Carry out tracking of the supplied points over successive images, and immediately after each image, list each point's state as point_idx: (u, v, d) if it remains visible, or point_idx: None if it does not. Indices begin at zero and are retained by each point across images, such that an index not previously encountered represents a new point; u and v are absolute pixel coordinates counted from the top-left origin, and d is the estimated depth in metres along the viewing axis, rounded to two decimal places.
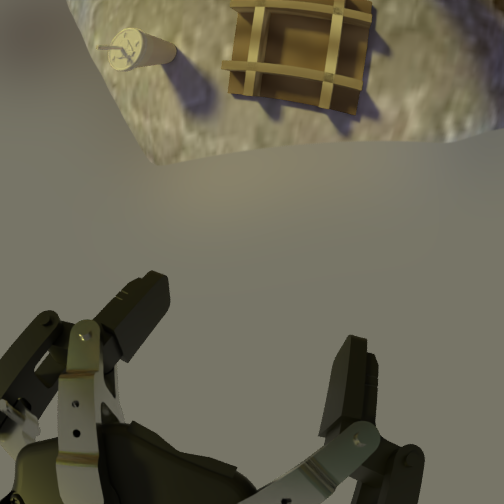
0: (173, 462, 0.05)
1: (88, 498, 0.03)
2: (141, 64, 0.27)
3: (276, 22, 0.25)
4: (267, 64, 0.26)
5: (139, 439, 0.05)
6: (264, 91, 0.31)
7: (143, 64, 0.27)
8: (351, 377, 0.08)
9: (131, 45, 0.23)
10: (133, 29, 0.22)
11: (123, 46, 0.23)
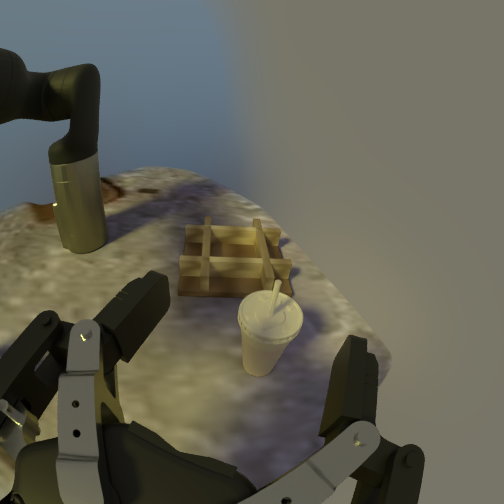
0: (173, 462, 0.05)
1: (88, 498, 0.03)
2: None
3: None
4: (262, 253, 0.43)
5: (139, 439, 0.05)
6: None
7: None
8: (351, 377, 0.08)
9: (267, 302, 0.27)
10: (242, 302, 0.26)
11: (267, 310, 0.26)
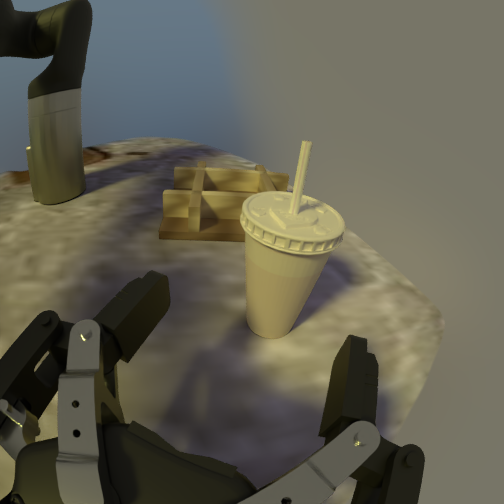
0: (173, 462, 0.05)
1: (88, 498, 0.03)
2: None
3: None
4: (268, 190, 0.34)
5: (139, 439, 0.05)
6: None
7: None
8: (351, 377, 0.08)
9: (286, 201, 0.17)
10: (247, 199, 0.17)
11: (289, 207, 0.16)
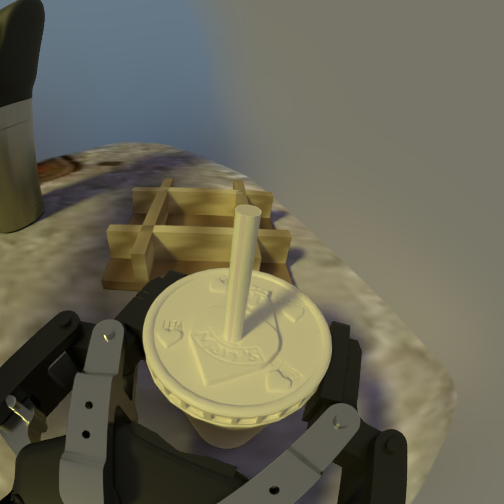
0: (173, 462, 0.05)
1: (88, 498, 0.03)
2: None
3: None
4: None
5: (139, 439, 0.05)
6: None
7: None
8: (332, 361, 0.08)
9: None
10: (160, 297, 0.09)
11: None
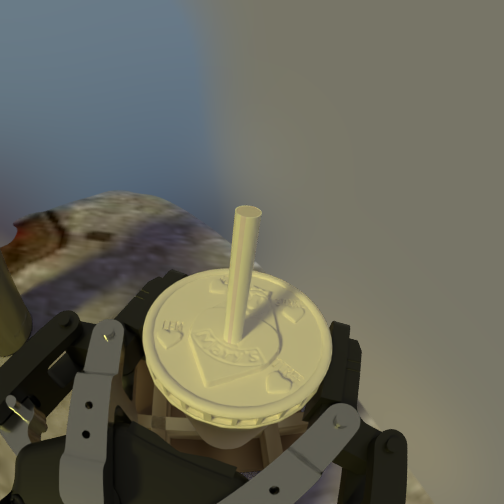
0: (173, 462, 0.05)
1: (88, 498, 0.03)
2: None
3: None
4: None
5: (139, 439, 0.05)
6: None
7: None
8: (332, 361, 0.08)
9: None
10: (160, 298, 0.09)
11: None
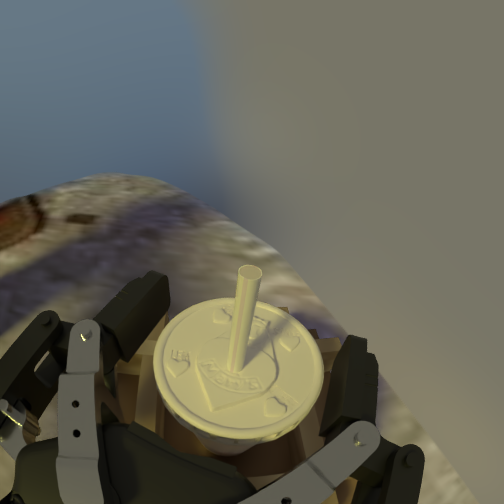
0: (173, 462, 0.05)
1: (88, 498, 0.03)
2: None
3: None
4: (307, 448, 0.12)
5: (139, 439, 0.05)
6: None
7: None
8: (351, 377, 0.08)
9: (230, 329, 0.10)
10: (167, 328, 0.10)
11: None
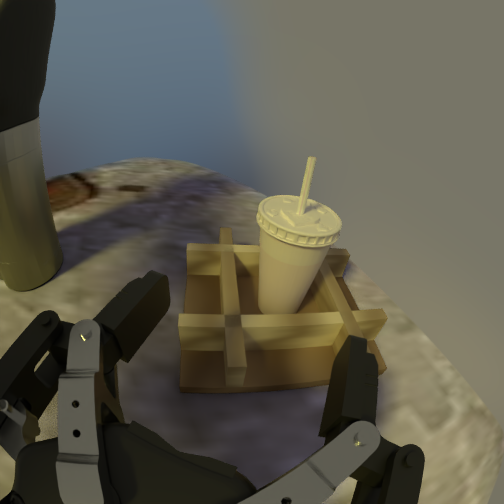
0: (173, 462, 0.05)
1: (88, 498, 0.03)
2: None
3: None
4: (335, 300, 0.22)
5: (139, 439, 0.05)
6: None
7: None
8: (351, 377, 0.08)
9: (293, 204, 0.21)
10: (262, 202, 0.20)
11: (296, 209, 0.20)
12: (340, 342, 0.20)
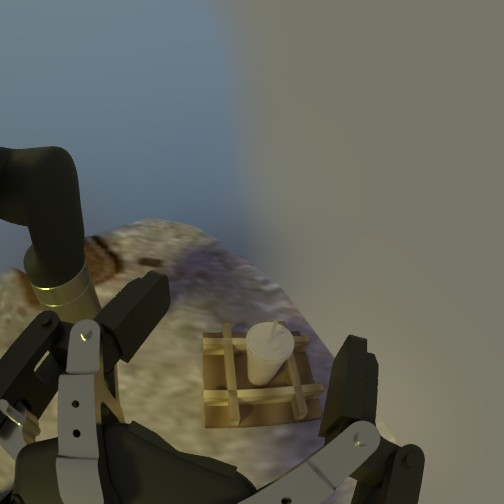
0: (173, 462, 0.05)
1: (88, 498, 0.03)
2: None
3: None
4: (292, 378, 0.36)
5: (139, 439, 0.05)
6: None
7: None
8: (351, 377, 0.08)
9: (267, 332, 0.35)
10: (248, 333, 0.34)
11: (267, 338, 0.33)
12: (293, 402, 0.34)
